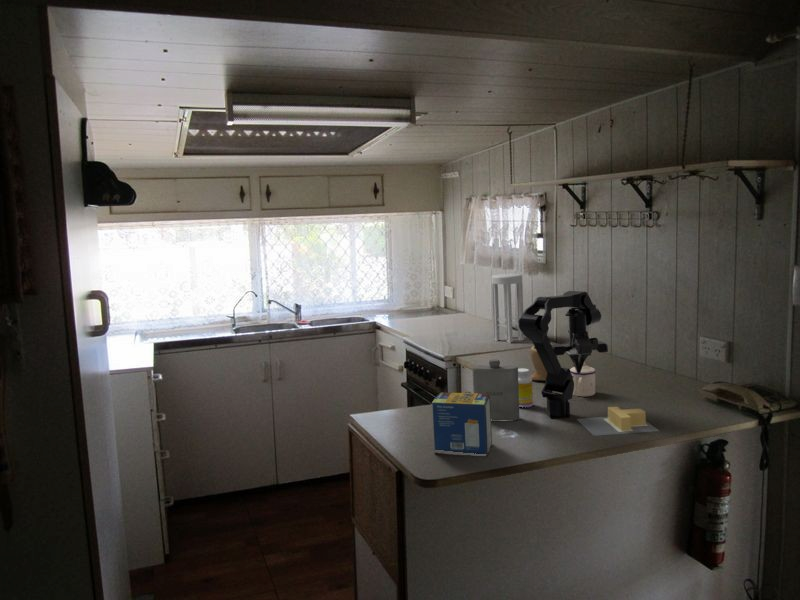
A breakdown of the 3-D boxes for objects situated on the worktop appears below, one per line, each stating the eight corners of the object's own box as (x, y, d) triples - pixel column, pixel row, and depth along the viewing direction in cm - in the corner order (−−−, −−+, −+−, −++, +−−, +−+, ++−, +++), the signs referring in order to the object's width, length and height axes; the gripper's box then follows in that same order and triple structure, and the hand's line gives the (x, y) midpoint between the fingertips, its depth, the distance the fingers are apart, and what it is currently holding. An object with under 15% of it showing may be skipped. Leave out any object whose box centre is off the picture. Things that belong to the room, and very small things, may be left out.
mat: (593, 436, 188) (593, 435, 188) (576, 419, 204) (576, 418, 204) (659, 431, 189) (659, 430, 189) (636, 415, 205) (636, 414, 205)
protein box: (441, 441, 192) (439, 392, 190) (492, 444, 187) (490, 393, 185) (433, 454, 182) (431, 402, 180) (487, 457, 177) (484, 403, 175)
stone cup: (526, 383, 251) (525, 346, 249) (533, 375, 261) (532, 340, 259) (565, 385, 244) (564, 347, 242) (571, 378, 255) (570, 341, 253)
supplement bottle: (536, 406, 220) (535, 370, 218) (519, 409, 218) (518, 373, 216) (527, 401, 226) (526, 366, 225) (510, 404, 225) (509, 369, 223)
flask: (472, 420, 209) (470, 361, 207) (475, 415, 215) (473, 357, 212) (518, 422, 205) (516, 362, 202) (520, 416, 210) (518, 358, 208)
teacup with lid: (572, 389, 239) (571, 359, 237) (597, 390, 235) (596, 360, 234) (567, 398, 228) (566, 366, 226) (593, 400, 224) (593, 367, 223)
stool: (507, 336, 347) (505, 273, 342) (529, 339, 335) (527, 274, 330) (488, 341, 338) (485, 275, 333) (510, 344, 325) (507, 277, 321)
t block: (621, 430, 191) (621, 417, 191) (607, 419, 202) (607, 407, 202) (650, 428, 192) (650, 415, 191) (635, 417, 202) (635, 405, 202)
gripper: (557, 333, 205) (558, 380, 207) (614, 330, 206) (614, 376, 208) (547, 328, 216) (549, 372, 218) (601, 324, 217) (602, 368, 219)
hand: (578, 372), depth 216 cm, fingers closed
